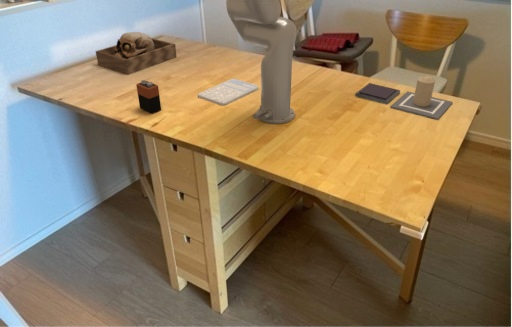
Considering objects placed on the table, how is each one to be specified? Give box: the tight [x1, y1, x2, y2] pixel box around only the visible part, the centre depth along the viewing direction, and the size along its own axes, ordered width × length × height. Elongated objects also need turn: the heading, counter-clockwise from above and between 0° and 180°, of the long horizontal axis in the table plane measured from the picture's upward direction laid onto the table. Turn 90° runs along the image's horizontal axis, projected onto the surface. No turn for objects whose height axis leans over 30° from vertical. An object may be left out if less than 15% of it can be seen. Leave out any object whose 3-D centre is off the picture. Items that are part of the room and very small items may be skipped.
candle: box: [413, 74, 436, 107], centre depth 146 cm, size 6×6×10 cm
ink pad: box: [354, 82, 401, 105], centre depth 157 cm, size 12×12×2 cm
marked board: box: [389, 91, 453, 121], centre depth 149 cm, size 16×16×1 cm
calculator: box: [197, 78, 259, 107], centre depth 159 cm, size 13×20×2 cm, turn 141°
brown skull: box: [114, 31, 154, 59], centre depth 186 cm, size 16×18×14 cm
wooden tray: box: [95, 37, 177, 75], centre depth 189 cm, size 27×20×6 cm
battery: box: [135, 79, 162, 114], centre depth 145 cm, size 4×7×10 cm, turn 48°
